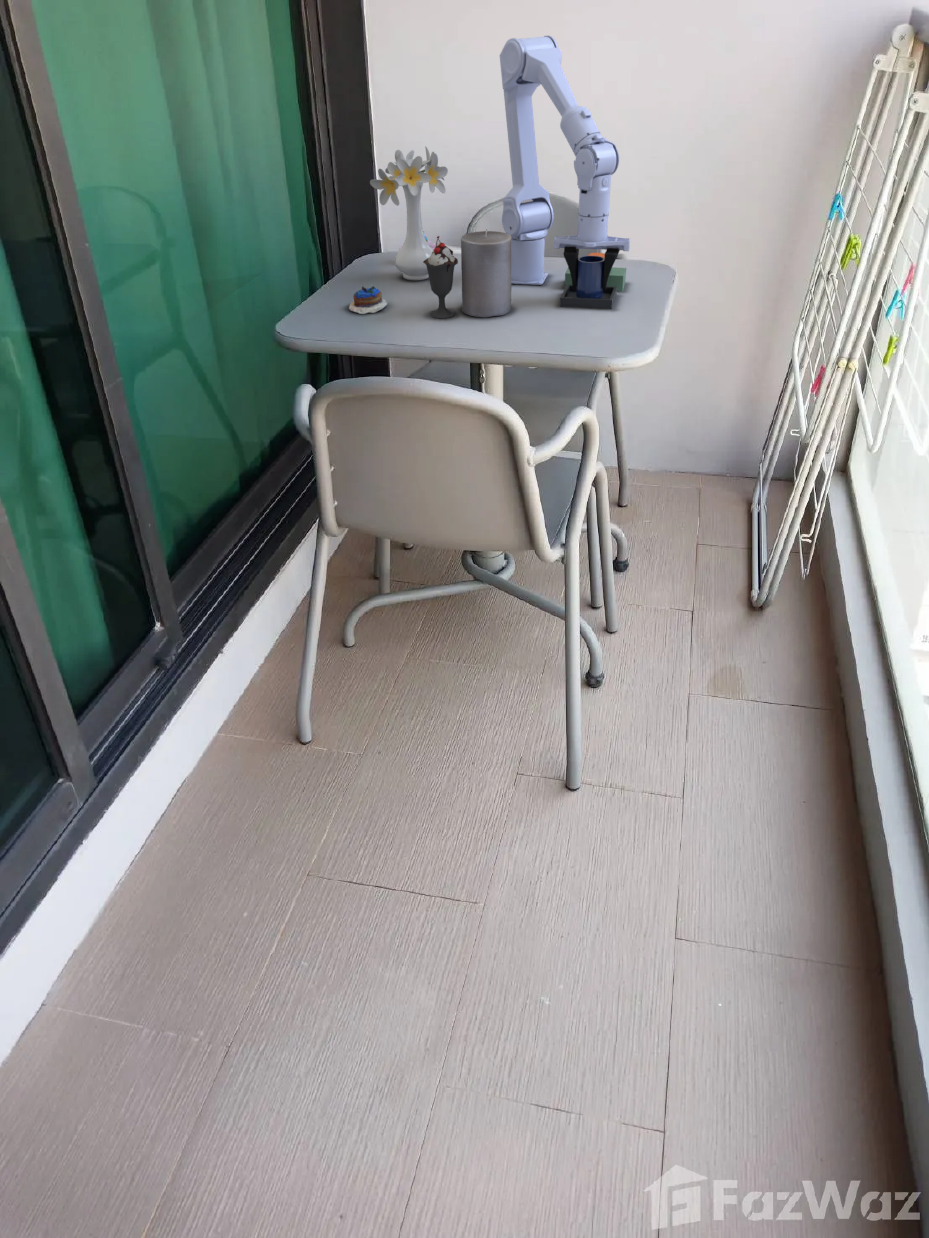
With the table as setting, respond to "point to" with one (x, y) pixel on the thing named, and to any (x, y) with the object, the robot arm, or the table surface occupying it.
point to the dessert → (367, 301)
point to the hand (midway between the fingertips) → (589, 287)
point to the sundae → (441, 276)
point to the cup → (590, 277)
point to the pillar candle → (486, 273)
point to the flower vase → (411, 206)
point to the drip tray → (588, 299)
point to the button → (597, 254)
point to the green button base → (614, 279)
